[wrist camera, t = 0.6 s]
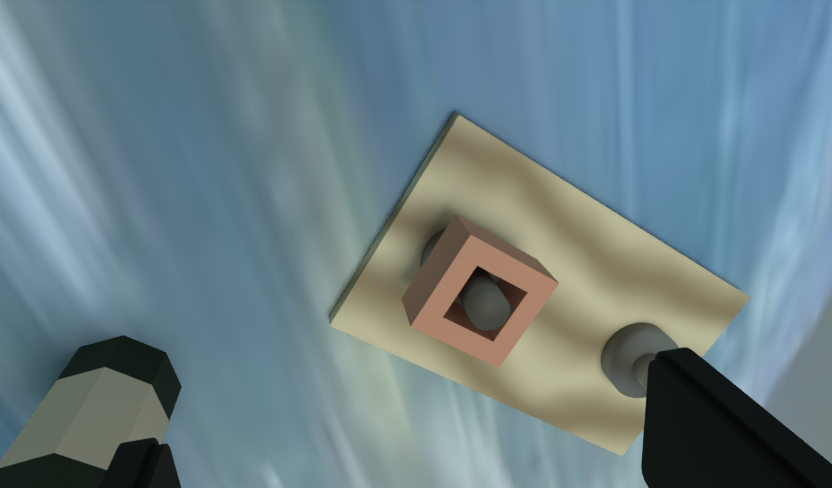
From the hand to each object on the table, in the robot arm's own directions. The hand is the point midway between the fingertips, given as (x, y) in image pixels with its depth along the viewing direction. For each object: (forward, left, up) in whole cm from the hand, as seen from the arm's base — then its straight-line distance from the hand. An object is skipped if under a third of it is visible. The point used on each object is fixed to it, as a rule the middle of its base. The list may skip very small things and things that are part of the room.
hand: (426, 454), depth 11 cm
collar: (+4, +12, -27) cm, 30 cm away
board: (+4, +21, -32) cm, 38 cm away
